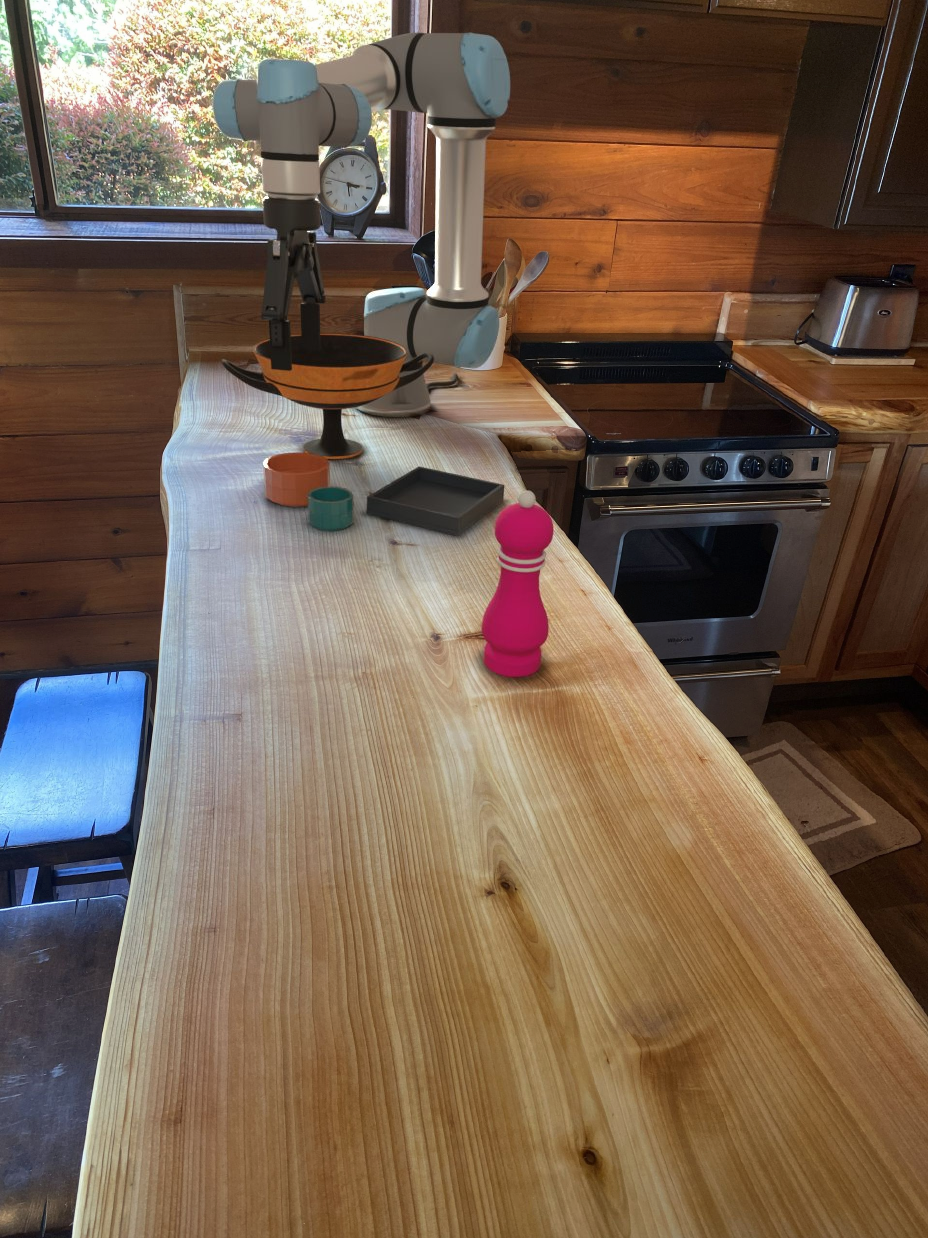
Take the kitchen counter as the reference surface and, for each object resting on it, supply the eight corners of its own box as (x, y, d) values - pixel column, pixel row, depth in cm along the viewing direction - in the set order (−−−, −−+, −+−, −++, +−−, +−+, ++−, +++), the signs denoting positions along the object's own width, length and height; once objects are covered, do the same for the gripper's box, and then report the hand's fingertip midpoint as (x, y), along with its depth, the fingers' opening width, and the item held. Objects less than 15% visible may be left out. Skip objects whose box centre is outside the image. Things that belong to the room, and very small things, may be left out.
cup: (241, 482, 143) (233, 370, 134) (218, 434, 163) (210, 335, 155) (453, 465, 155) (458, 362, 147) (407, 423, 176) (409, 330, 167)
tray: (418, 482, 147) (418, 466, 146) (503, 501, 142) (504, 484, 140) (366, 514, 134) (366, 496, 133) (457, 536, 129) (458, 518, 127)
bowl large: (290, 481, 144) (288, 448, 142) (342, 493, 141) (341, 460, 138) (252, 500, 137) (249, 465, 134) (306, 513, 133) (304, 478, 130)
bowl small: (324, 512, 134) (324, 483, 132) (361, 521, 132) (361, 492, 130) (299, 526, 129) (298, 496, 127) (337, 535, 127) (337, 505, 124)
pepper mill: (499, 686, 95) (514, 508, 85) (467, 653, 100) (478, 483, 91) (557, 672, 98) (578, 498, 88) (523, 640, 103) (539, 475, 94)
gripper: (293, 189, 131) (298, 339, 141) (228, 199, 109) (240, 376, 119) (344, 192, 130) (345, 343, 140) (288, 203, 108) (295, 381, 118)
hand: (297, 358), depth 129 cm, fingers open, 13 cm apart
